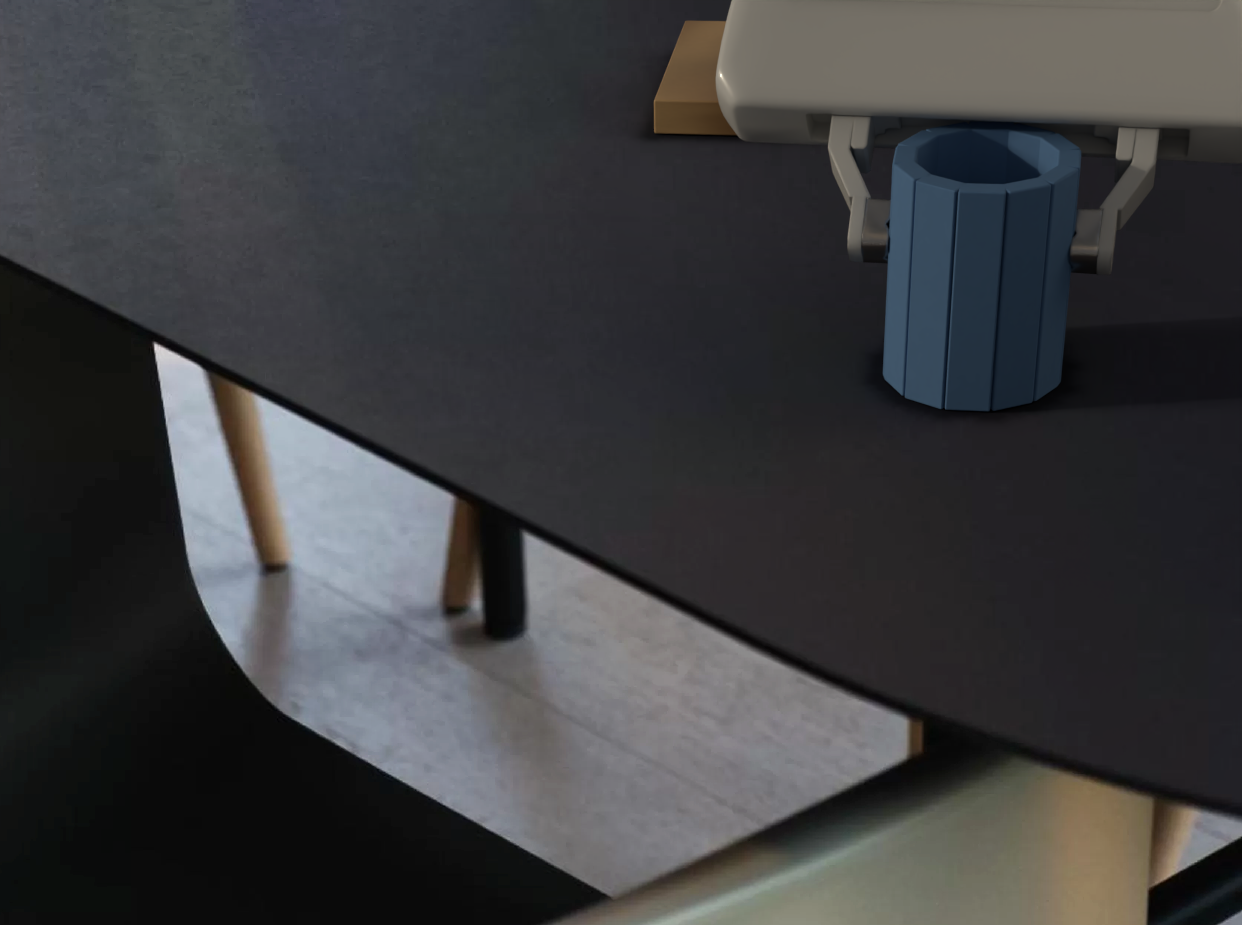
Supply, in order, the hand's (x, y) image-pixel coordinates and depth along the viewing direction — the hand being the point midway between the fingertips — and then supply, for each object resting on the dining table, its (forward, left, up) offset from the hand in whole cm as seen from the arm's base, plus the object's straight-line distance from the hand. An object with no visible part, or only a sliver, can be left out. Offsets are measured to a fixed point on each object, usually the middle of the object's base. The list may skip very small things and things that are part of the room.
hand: (979, 263), depth 94 cm
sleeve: (0, -1, -4) cm, 4 cm away
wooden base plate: (+10, -28, -4) cm, 30 cm away
